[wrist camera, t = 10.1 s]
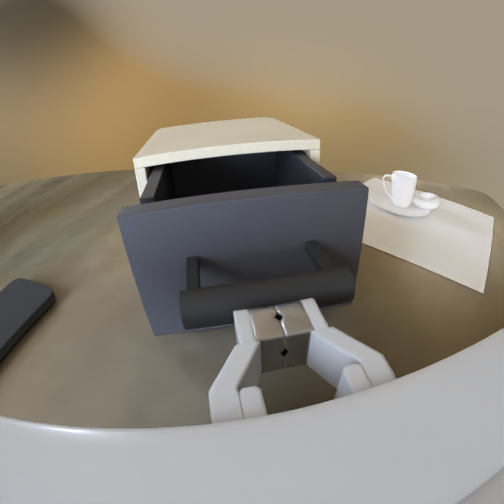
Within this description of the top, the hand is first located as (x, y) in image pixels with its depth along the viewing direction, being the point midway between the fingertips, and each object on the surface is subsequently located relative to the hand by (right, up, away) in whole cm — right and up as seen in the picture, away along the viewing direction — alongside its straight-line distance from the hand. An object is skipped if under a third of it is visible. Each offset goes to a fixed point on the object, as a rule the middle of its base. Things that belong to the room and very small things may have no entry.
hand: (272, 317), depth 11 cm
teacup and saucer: (+18, +6, +20) cm, 28 cm away
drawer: (-1, +1, +11) cm, 11 cm away
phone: (-22, -5, +5) cm, 23 cm away
